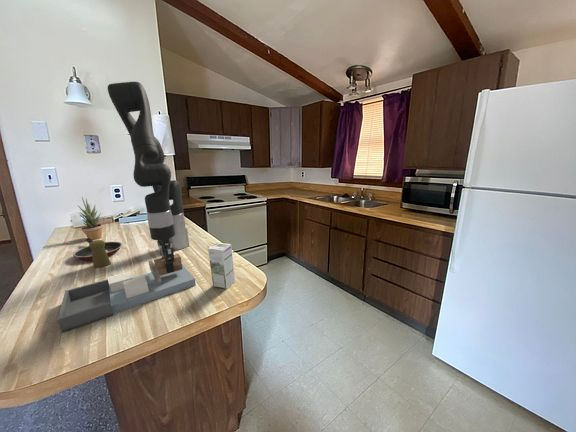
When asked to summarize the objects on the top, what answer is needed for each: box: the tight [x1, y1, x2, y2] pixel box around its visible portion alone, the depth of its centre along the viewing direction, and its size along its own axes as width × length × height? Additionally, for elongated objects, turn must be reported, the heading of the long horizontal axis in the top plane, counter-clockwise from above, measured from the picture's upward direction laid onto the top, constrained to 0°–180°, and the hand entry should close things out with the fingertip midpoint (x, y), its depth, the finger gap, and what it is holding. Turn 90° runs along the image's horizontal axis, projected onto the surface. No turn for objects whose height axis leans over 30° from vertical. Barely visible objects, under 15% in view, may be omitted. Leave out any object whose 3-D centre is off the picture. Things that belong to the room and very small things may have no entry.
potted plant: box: [77, 196, 104, 241], centre depth 135 cm, size 10×10×25 cm
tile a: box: [123, 276, 149, 298], centre depth 77 cm, size 6×6×3 cm
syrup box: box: [207, 242, 236, 290], centre depth 83 cm, size 6×6×14 cm
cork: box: [88, 239, 112, 269], centre depth 102 cm, size 6×6×11 cm
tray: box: [57, 278, 114, 334], centre depth 73 cm, size 11×18×4 cm, turn 38°
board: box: [109, 263, 196, 314], centre depth 83 cm, size 24×16×2 cm, turn 128°
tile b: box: [108, 271, 133, 292], centre depth 81 cm, size 6×6×3 cm
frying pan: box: [72, 237, 123, 261], centre depth 118 cm, size 19×32×4 cm, turn 50°
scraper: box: [148, 253, 183, 284], centre depth 85 cm, size 9×14×5 cm, turn 38°
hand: (169, 269), depth 86 cm, fingers closed on scraper, 3 cm apart
